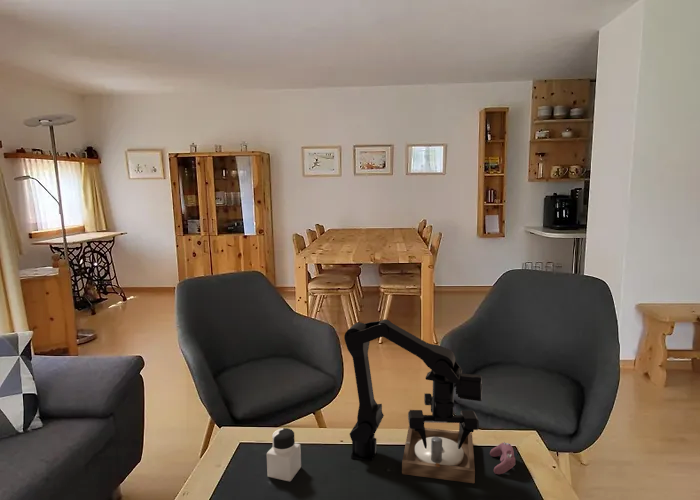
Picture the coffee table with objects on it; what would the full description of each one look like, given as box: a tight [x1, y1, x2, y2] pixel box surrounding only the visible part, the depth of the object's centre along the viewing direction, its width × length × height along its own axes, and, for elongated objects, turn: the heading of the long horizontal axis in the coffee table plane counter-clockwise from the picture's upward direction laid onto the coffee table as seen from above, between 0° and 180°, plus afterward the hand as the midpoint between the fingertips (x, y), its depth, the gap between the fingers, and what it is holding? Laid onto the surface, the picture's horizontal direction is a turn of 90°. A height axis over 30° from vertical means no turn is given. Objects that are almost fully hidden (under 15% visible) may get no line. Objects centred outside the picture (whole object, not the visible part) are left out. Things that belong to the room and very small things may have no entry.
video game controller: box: [489, 441, 516, 475], centre depth 128 cm, size 10×5×7 cm, turn 170°
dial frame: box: [401, 426, 476, 484], centre depth 132 cm, size 19×19×4 cm
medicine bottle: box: [266, 427, 302, 482], centre depth 126 cm, size 7×7×12 cm
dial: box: [415, 437, 464, 466], centre depth 132 cm, size 14×14×7 cm
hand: (442, 447), depth 127 cm, fingers open, 9 cm apart
